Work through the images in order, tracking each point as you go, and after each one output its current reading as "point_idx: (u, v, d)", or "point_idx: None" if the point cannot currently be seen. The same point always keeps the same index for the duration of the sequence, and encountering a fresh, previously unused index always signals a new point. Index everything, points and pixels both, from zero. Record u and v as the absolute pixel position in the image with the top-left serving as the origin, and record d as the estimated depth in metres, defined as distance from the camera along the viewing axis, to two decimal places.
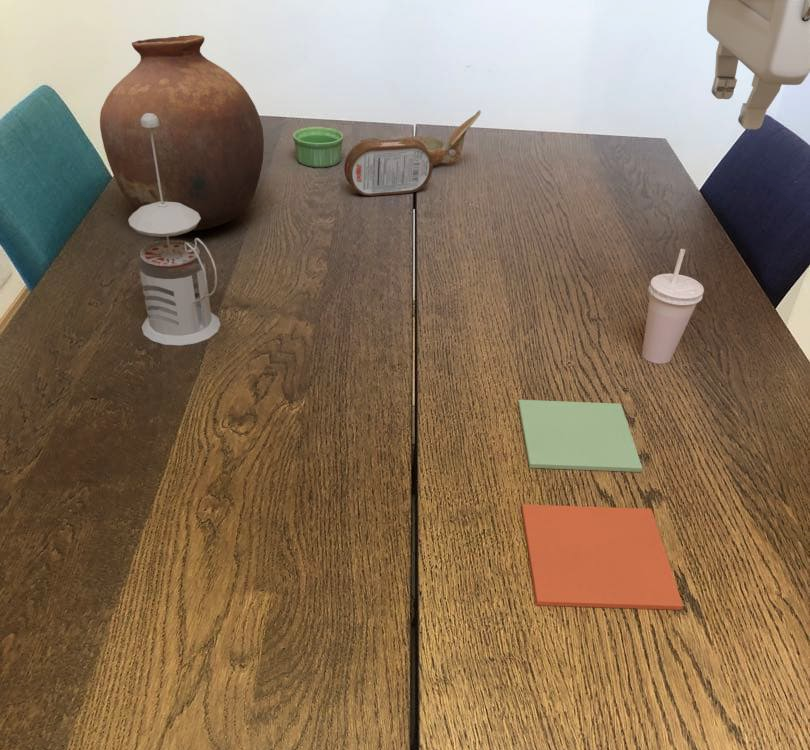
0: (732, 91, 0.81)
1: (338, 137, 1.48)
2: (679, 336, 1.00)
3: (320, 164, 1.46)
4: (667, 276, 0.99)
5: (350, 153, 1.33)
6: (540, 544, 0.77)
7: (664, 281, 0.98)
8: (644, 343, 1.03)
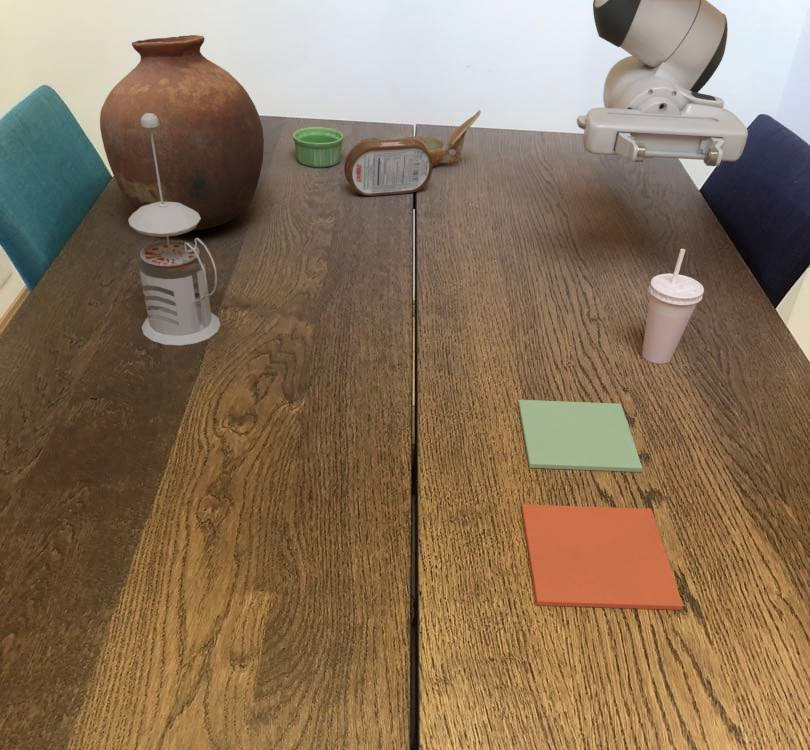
0: (710, 150, 0.99)
1: (338, 137, 1.48)
2: (679, 336, 1.00)
3: (320, 164, 1.46)
4: (667, 276, 0.99)
5: (350, 153, 1.33)
6: (540, 544, 0.77)
7: (664, 281, 0.98)
8: (644, 343, 1.03)
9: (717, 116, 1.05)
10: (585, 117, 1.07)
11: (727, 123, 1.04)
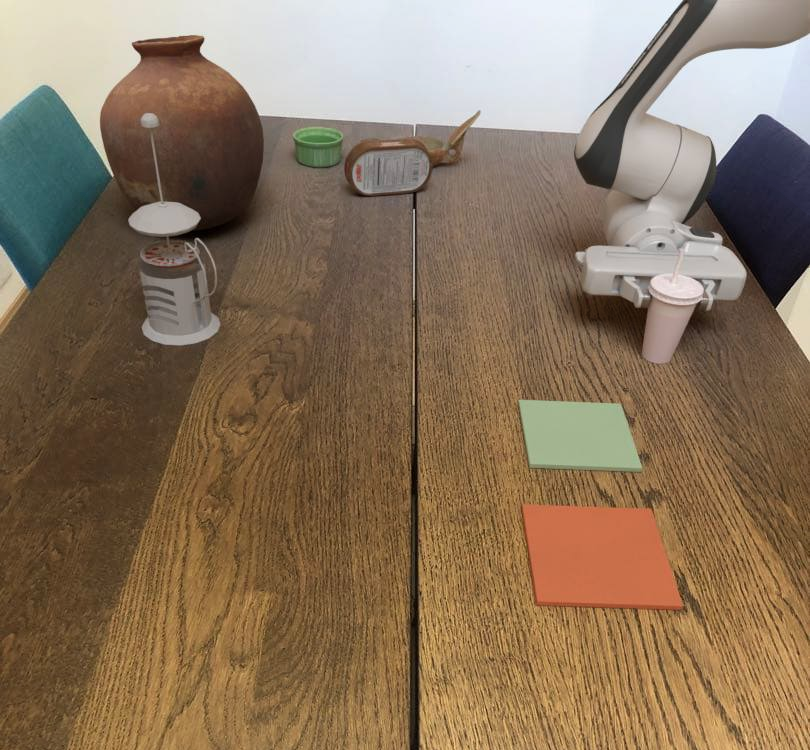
0: None
1: (338, 137, 1.48)
2: (679, 336, 1.00)
3: (320, 164, 1.46)
4: (666, 276, 0.99)
5: (350, 153, 1.33)
6: (540, 544, 0.77)
7: (664, 281, 0.98)
8: (644, 343, 1.03)
9: (716, 254, 1.05)
10: (583, 254, 1.06)
11: (725, 262, 1.03)
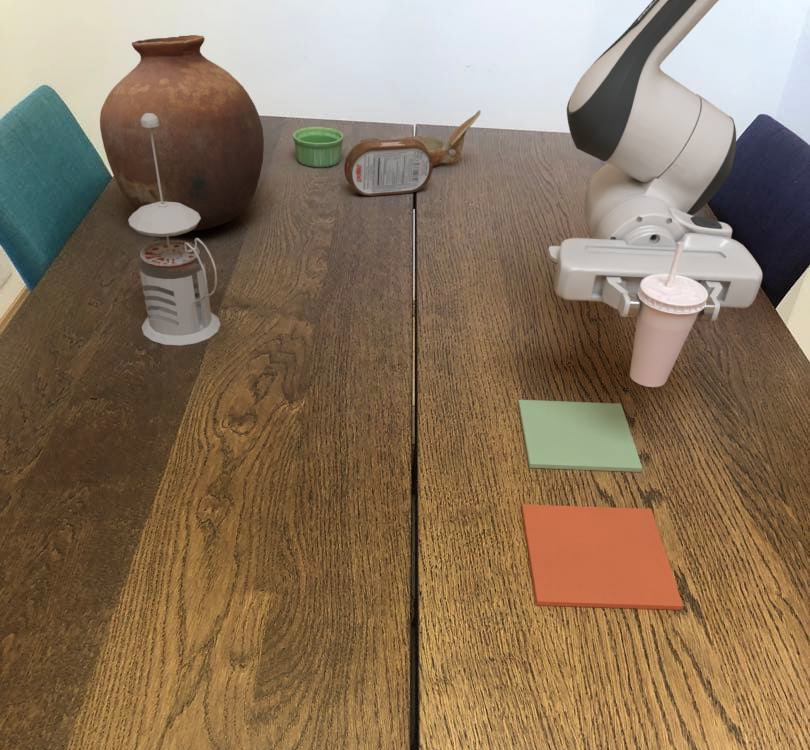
0: None
1: (338, 137, 1.48)
2: (676, 353, 0.79)
3: (320, 164, 1.46)
4: (661, 277, 0.78)
5: (350, 153, 1.33)
6: (540, 544, 0.77)
7: (657, 283, 0.77)
8: (632, 361, 0.82)
9: (724, 250, 0.83)
10: (558, 248, 0.85)
11: (736, 260, 0.82)
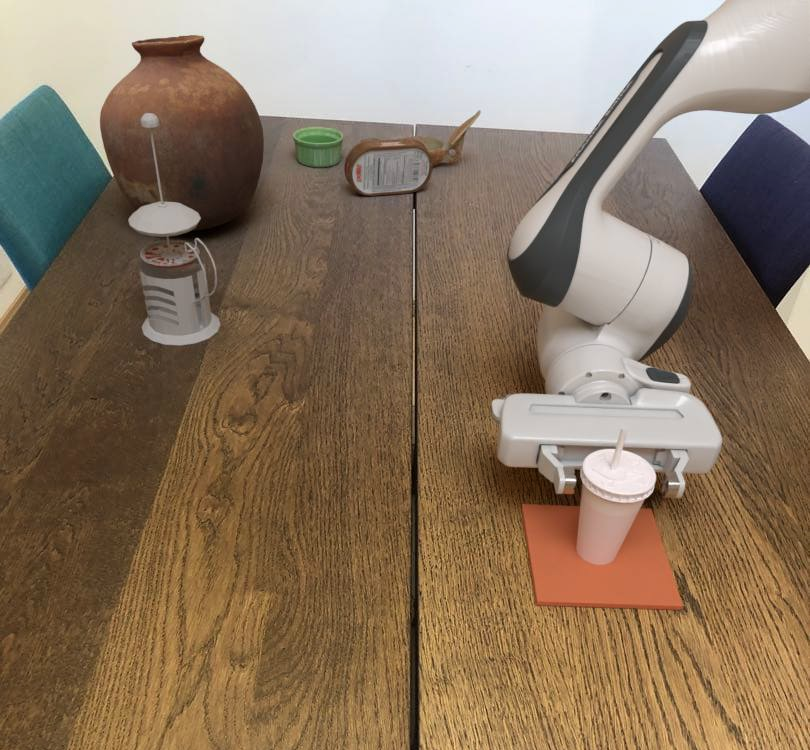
0: (667, 479, 0.70)
1: (338, 137, 1.48)
2: (624, 534, 0.73)
3: (320, 164, 1.46)
4: (606, 454, 0.72)
5: (350, 153, 1.33)
6: (540, 544, 0.77)
7: (601, 464, 0.70)
8: (578, 537, 0.75)
9: (682, 408, 0.77)
10: (501, 403, 0.78)
11: (694, 421, 0.75)
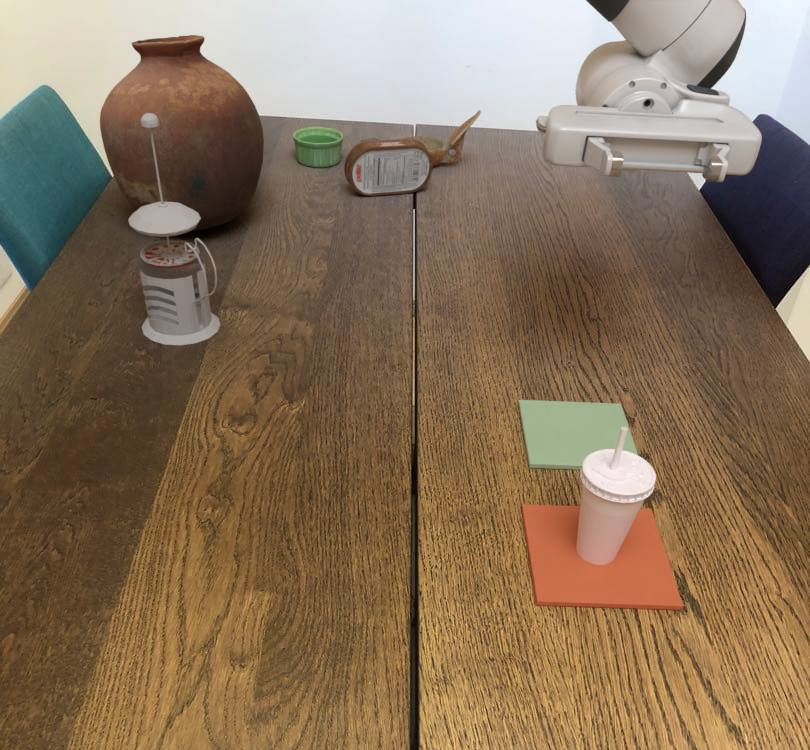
0: (711, 161, 0.73)
1: (338, 137, 1.48)
2: (624, 534, 0.73)
3: (320, 164, 1.46)
4: (606, 454, 0.72)
5: (350, 153, 1.33)
6: (540, 544, 0.77)
7: (601, 464, 0.70)
8: (578, 537, 0.75)
9: (721, 116, 0.79)
10: (547, 118, 0.81)
11: (734, 124, 0.78)
